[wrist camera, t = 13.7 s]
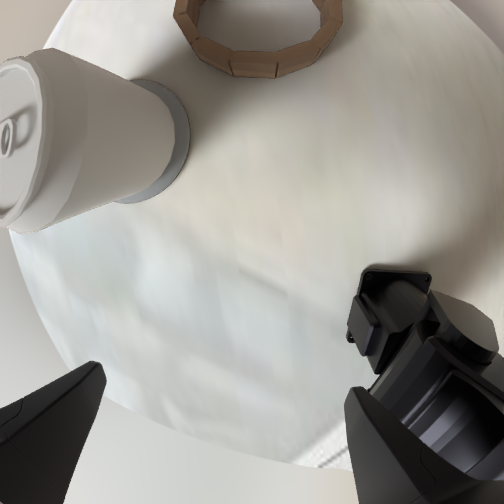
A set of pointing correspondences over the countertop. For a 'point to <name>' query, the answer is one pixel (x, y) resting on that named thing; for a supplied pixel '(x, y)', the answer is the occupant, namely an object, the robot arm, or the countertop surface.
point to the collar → (257, 61)
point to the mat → (179, 146)
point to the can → (74, 139)
